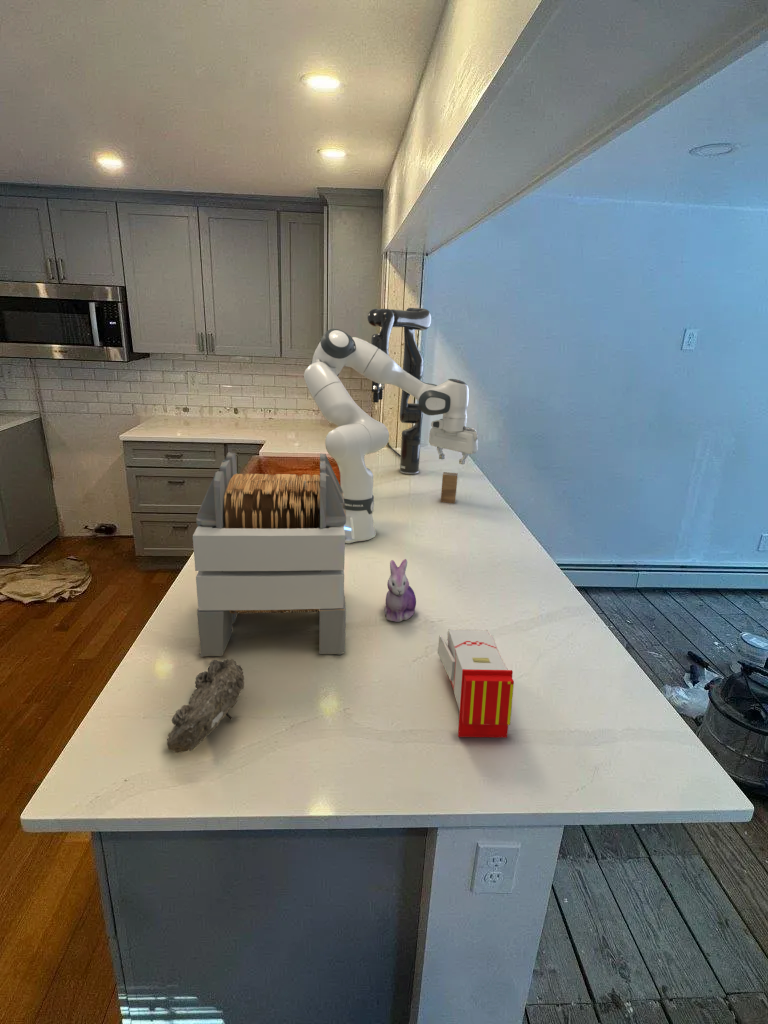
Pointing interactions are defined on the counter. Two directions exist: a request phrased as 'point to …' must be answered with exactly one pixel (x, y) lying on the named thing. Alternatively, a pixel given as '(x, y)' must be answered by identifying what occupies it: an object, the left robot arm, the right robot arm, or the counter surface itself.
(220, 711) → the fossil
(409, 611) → the figurine
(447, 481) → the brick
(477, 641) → the toy
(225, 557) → the record crate
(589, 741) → the counter surface
